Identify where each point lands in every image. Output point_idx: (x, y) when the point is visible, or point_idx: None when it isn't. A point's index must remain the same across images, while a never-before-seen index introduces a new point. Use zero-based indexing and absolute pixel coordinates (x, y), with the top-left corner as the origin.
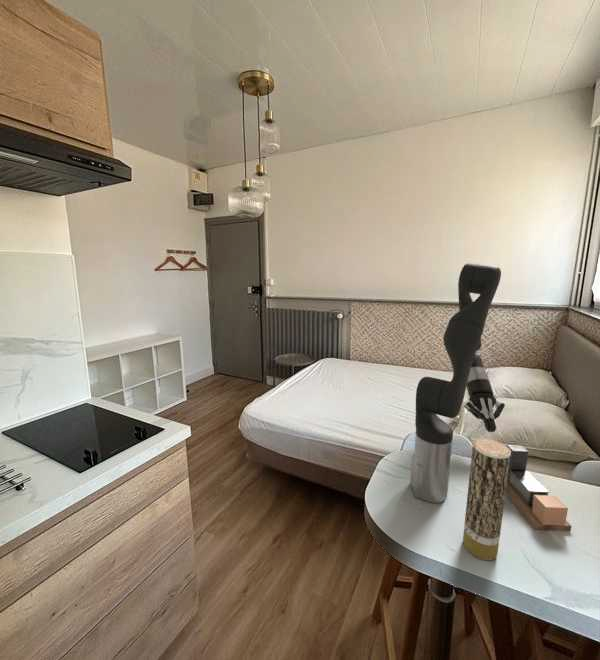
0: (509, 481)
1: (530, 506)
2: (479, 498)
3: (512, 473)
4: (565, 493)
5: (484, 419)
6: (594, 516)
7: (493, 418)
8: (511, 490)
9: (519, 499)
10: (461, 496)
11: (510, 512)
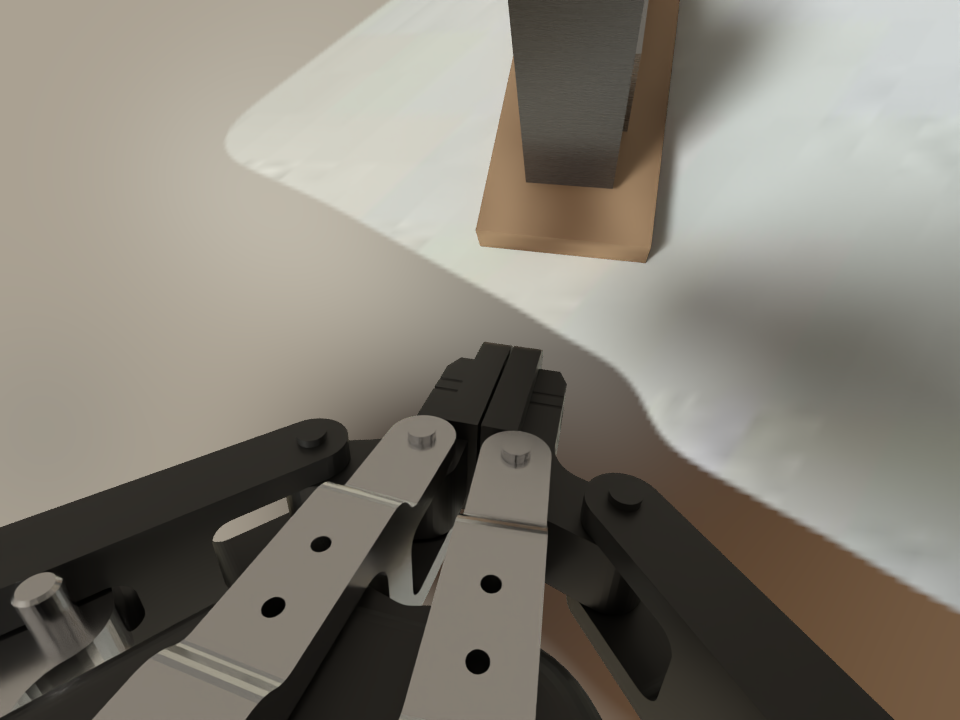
0: (630, 112)
1: None
2: None
3: (642, 41)
4: (352, 127)
5: (556, 468)
6: (372, 14)
7: (419, 417)
8: (645, 94)
9: (652, 37)
10: (946, 111)
11: (727, 21)
